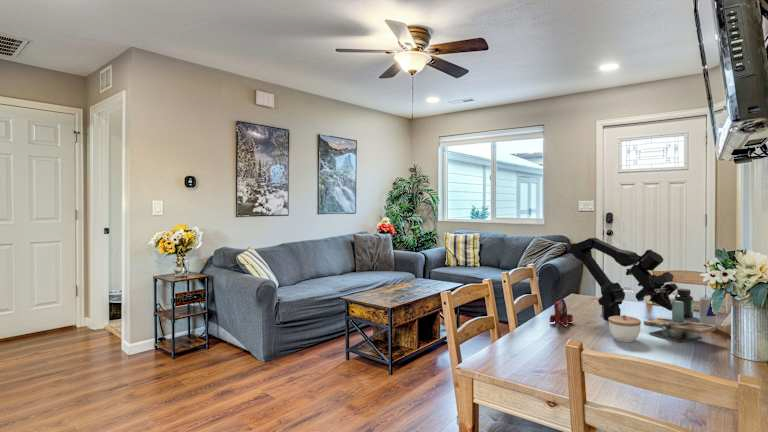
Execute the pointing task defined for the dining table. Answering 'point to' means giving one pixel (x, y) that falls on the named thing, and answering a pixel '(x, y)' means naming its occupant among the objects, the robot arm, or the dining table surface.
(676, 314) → the green rectangular block
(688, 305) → the supplement bottle
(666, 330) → the beam stand
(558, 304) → the dark red irregular piece
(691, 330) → the balance beam
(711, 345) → the dining table surface
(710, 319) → the energy drink
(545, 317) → the dining table surface
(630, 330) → the lidded jar
